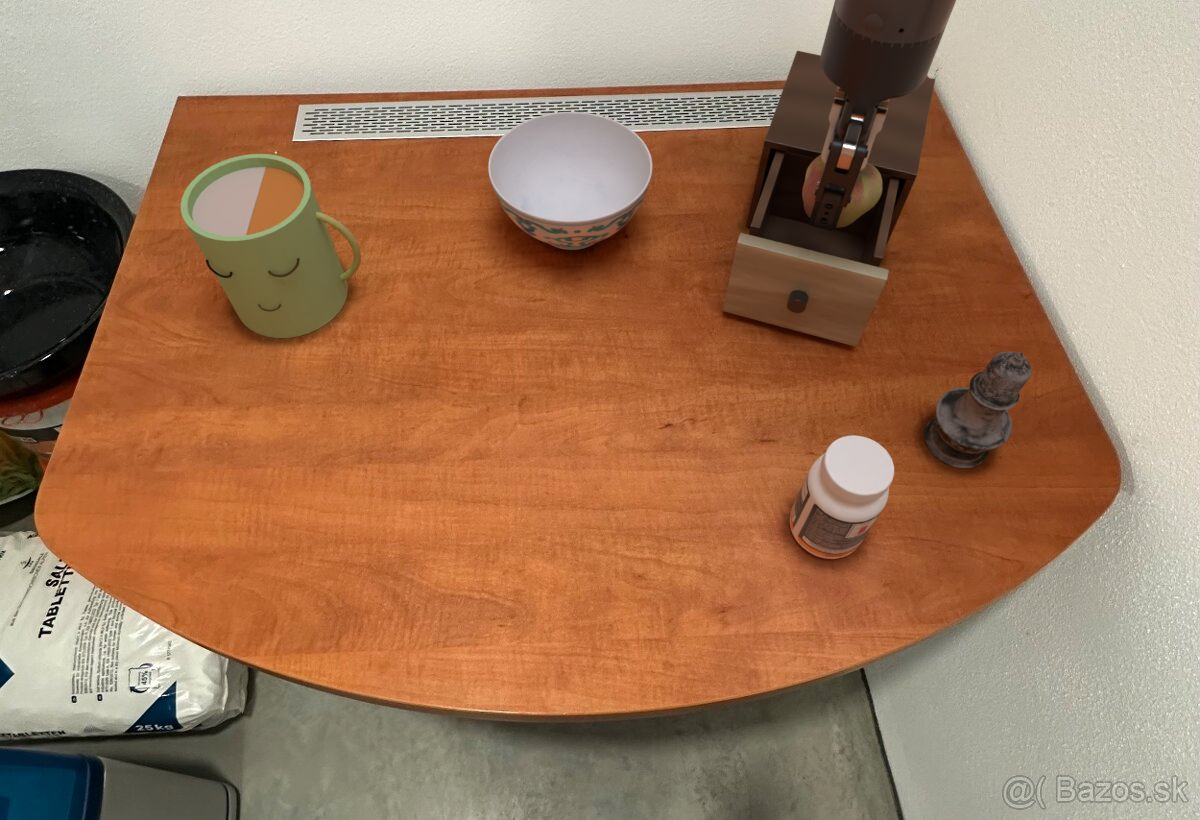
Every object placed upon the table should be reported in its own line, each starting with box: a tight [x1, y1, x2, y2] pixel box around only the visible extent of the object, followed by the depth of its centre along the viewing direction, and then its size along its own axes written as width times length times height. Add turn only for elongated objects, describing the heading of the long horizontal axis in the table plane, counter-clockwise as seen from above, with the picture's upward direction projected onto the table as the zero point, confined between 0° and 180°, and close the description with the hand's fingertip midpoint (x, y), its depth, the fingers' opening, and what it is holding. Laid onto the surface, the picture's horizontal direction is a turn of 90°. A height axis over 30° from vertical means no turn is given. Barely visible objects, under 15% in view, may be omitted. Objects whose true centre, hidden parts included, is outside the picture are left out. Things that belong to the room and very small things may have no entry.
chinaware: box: [487, 111, 653, 251], centre depth 76 cm, size 15×15×8 cm
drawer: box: [722, 150, 900, 348], centre depth 71 cm, size 15×12×9 cm
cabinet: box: [745, 50, 936, 249], centre depth 78 cm, size 14×13×10 cm
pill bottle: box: [789, 434, 895, 560], centre depth 58 cm, size 6×6×10 cm
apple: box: [802, 155, 882, 228], centre depth 66 cm, size 6×8×6 cm
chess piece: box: [923, 351, 1033, 469], centre depth 61 cm, size 6×6×12 cm
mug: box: [180, 153, 362, 339], centre depth 69 cm, size 13×10×12 cm
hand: (829, 198), depth 67 cm, fingers closed on apple, 6 cm apart
